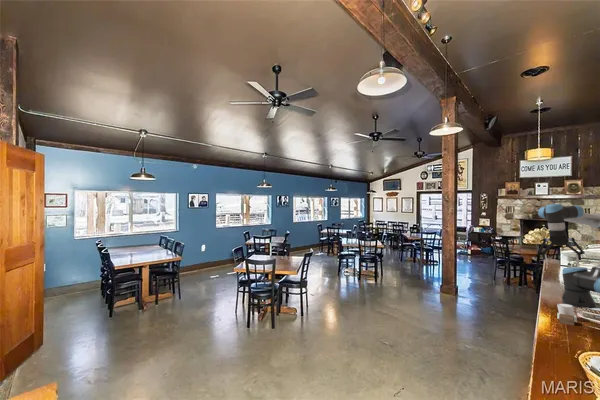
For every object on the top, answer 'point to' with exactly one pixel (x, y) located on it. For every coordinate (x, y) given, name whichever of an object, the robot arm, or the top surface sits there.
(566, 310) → the white cup
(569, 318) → the housing
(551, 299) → the top surface
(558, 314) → the board
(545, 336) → the top surface
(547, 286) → the top surface
